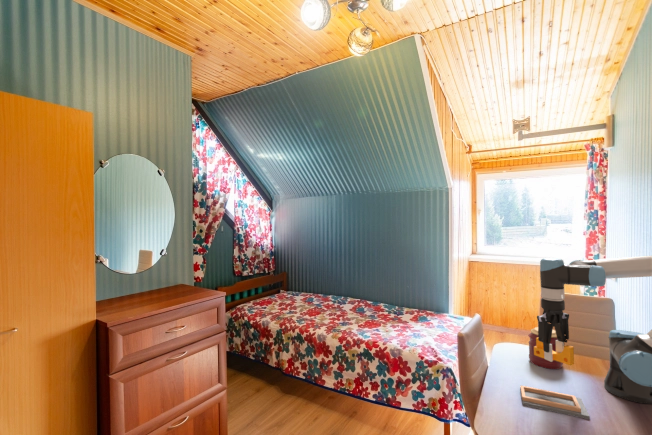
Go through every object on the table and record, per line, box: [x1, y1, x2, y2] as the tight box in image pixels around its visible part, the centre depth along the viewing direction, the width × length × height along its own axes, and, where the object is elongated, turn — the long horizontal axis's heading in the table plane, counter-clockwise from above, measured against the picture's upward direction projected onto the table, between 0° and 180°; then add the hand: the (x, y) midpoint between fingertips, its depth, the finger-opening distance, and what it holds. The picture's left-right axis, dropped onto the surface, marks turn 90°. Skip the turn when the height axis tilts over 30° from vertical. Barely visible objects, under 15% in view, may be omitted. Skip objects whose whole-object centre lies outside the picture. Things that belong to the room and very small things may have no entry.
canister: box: [528, 326, 564, 370], centre depth 148 cm, size 13×13×18 cm
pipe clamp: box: [534, 337, 575, 366], centre depth 125 cm, size 12×4×6 cm, turn 28°
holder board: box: [519, 385, 591, 420], centre depth 117 cm, size 19×12×2 cm, turn 63°
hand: (554, 359), depth 124 cm, fingers closed on pipe clamp, 5 cm apart
